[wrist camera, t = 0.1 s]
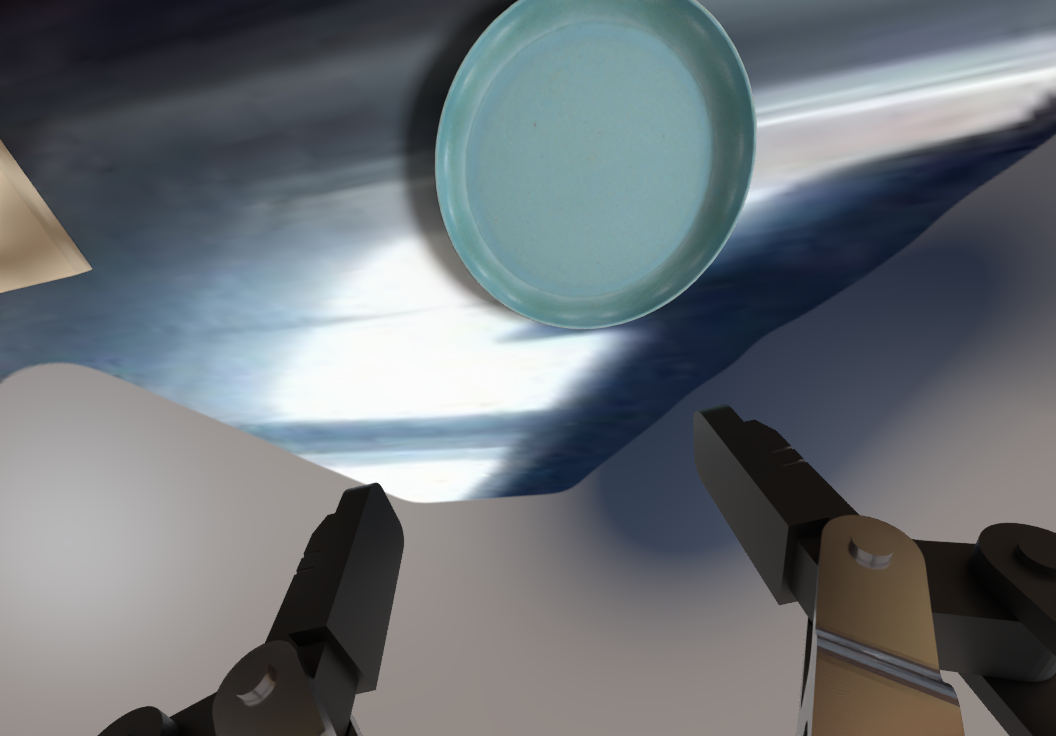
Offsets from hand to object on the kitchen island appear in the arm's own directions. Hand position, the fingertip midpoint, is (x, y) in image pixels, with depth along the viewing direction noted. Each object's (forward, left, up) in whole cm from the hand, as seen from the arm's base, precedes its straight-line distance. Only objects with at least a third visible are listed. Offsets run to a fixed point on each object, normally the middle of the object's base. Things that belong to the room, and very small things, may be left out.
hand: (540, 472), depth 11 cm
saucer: (-3, +8, -30) cm, 31 cm away
